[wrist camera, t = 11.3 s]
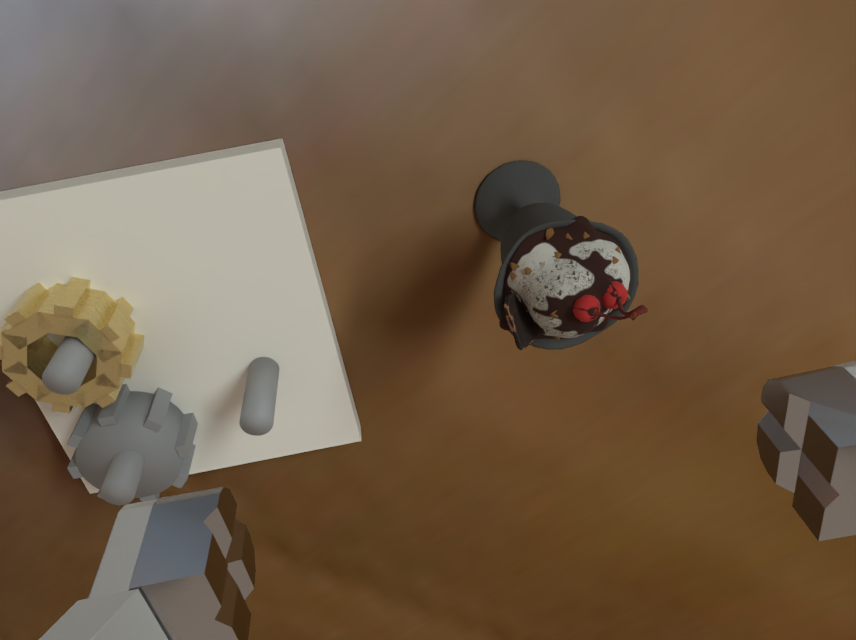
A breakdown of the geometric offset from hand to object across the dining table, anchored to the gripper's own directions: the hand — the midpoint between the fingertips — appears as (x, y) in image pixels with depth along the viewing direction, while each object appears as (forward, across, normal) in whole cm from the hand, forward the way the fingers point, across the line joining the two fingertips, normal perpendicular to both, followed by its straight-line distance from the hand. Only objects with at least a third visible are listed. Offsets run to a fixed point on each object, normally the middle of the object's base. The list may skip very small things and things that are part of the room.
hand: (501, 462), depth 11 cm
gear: (+28, +20, +11) cm, 36 cm away
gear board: (+29, +15, +13) cm, 35 cm away
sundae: (+29, -6, +9) cm, 31 cm away
